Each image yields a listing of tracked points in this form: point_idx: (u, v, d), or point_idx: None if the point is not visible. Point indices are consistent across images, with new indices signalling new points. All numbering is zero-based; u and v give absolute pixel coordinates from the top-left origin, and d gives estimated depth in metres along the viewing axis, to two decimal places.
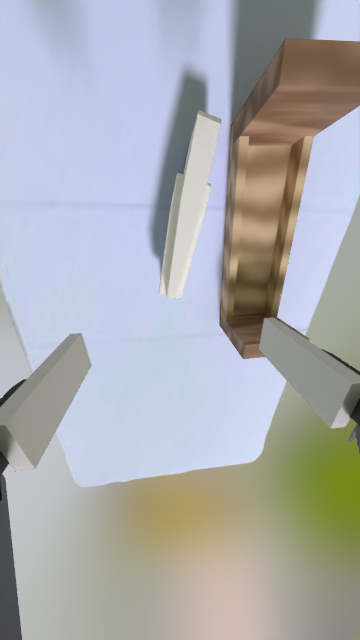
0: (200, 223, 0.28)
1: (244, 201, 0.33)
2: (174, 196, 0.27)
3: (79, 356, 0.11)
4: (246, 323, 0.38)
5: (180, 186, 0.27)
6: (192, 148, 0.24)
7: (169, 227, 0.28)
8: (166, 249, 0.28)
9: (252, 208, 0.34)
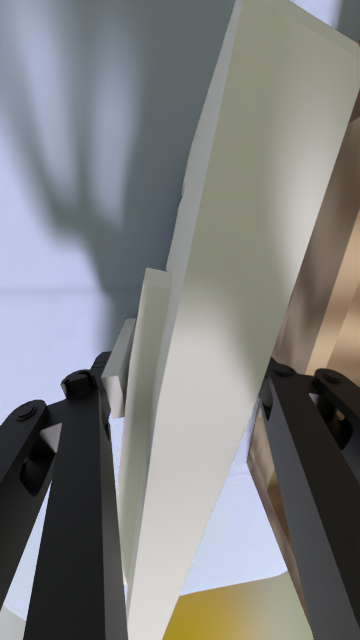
0: None
1: None
2: (137, 352, 0.07)
3: None
4: None
5: (158, 319, 0.07)
6: (208, 202, 0.04)
7: (125, 439, 0.08)
8: (120, 492, 0.09)
9: None
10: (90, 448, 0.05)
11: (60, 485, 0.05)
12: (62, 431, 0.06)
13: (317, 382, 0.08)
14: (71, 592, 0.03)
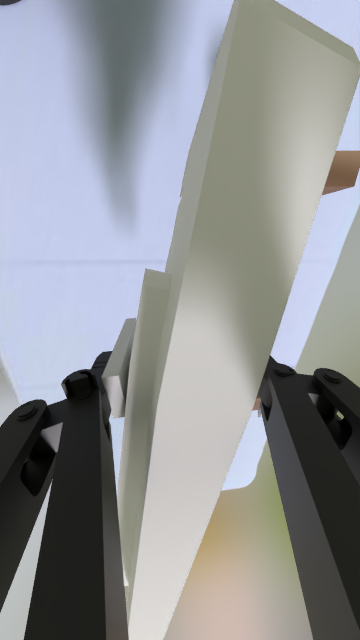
0: None
1: None
2: (137, 353, 0.08)
3: None
4: None
5: (157, 320, 0.07)
6: (206, 205, 0.04)
7: (126, 439, 0.08)
8: (121, 493, 0.09)
9: None
10: (91, 448, 0.05)
11: (61, 485, 0.05)
12: (62, 430, 0.06)
13: (316, 382, 0.08)
14: (72, 591, 0.03)
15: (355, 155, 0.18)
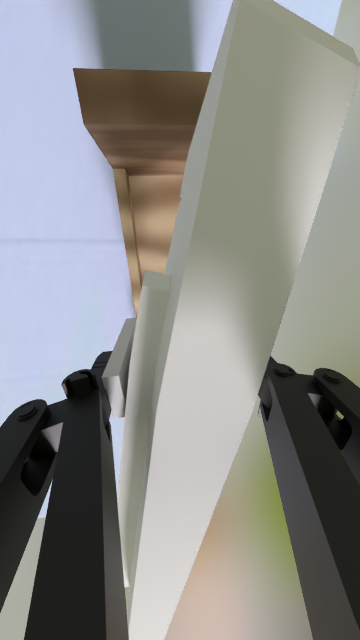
0: None
1: (145, 235, 0.29)
2: (137, 354, 0.08)
3: None
4: None
5: (157, 321, 0.07)
6: (205, 206, 0.04)
7: (126, 440, 0.08)
8: (121, 494, 0.09)
9: (156, 242, 0.30)
10: (91, 448, 0.05)
11: (61, 485, 0.05)
12: (62, 431, 0.06)
13: (316, 382, 0.08)
14: (72, 591, 0.03)
15: None
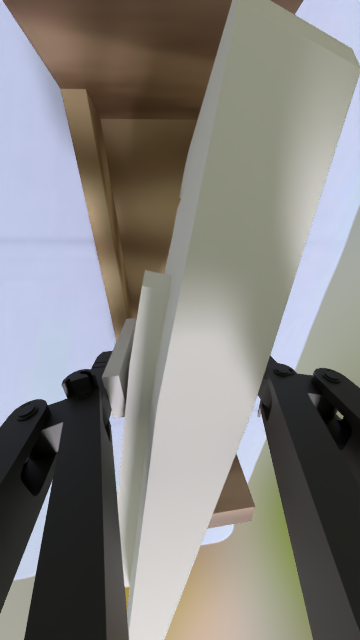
0: None
1: (134, 231, 0.17)
2: (137, 355, 0.08)
3: None
4: None
5: (157, 321, 0.07)
6: (204, 207, 0.04)
7: (126, 441, 0.08)
8: (121, 494, 0.09)
9: (153, 243, 0.18)
10: (91, 448, 0.05)
11: (61, 484, 0.05)
12: (62, 431, 0.06)
13: (316, 382, 0.08)
14: (72, 591, 0.03)
15: None
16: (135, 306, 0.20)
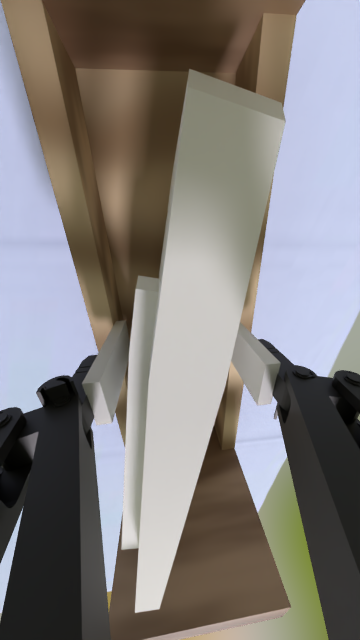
0: None
1: (127, 230, 0.13)
2: (134, 345, 0.09)
3: (125, 340, 0.13)
4: None
5: (149, 317, 0.09)
6: (174, 229, 0.06)
7: (129, 418, 0.10)
8: (127, 464, 0.11)
9: (152, 246, 0.14)
10: (69, 458, 0.05)
11: (35, 499, 0.04)
12: (38, 442, 0.06)
13: (337, 384, 0.07)
14: (45, 610, 0.03)
15: None
16: (129, 325, 0.16)
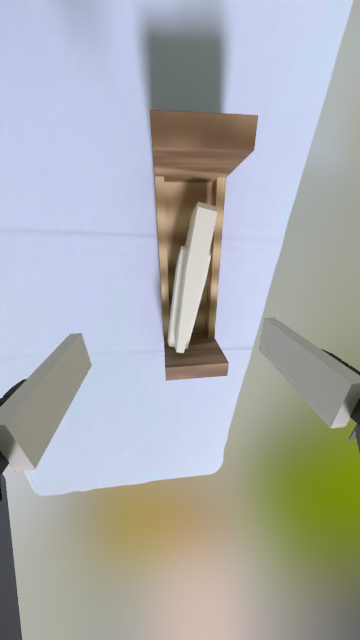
0: (202, 286, 0.33)
1: (173, 231, 0.35)
2: (179, 266, 0.31)
3: (79, 356, 0.11)
4: None
5: (184, 258, 0.31)
6: (194, 233, 0.28)
7: (176, 291, 0.32)
8: (174, 309, 0.33)
9: (181, 237, 0.36)
10: None
11: None
12: None
13: None
14: None
15: (249, 119, 0.20)
16: (169, 271, 0.38)
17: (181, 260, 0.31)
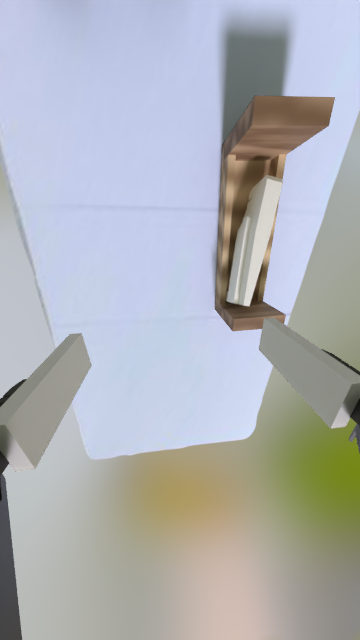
0: None
1: (233, 204, 0.41)
2: (245, 232, 0.37)
3: (79, 356, 0.11)
4: (237, 305, 0.46)
5: (249, 225, 0.37)
6: (263, 201, 0.34)
7: (241, 254, 0.38)
8: (239, 270, 0.39)
9: (240, 210, 0.41)
10: None
11: None
12: None
13: None
14: None
15: (328, 101, 0.26)
16: None
17: (247, 227, 0.37)
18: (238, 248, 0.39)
